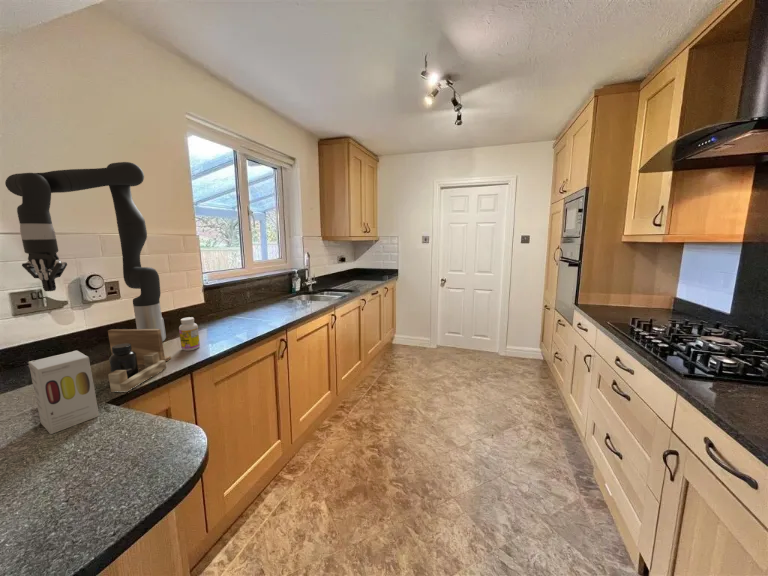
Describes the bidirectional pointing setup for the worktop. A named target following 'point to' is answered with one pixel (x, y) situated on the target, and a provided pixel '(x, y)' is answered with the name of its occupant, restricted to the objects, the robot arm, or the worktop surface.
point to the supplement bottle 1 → (124, 359)
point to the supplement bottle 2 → (189, 334)
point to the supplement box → (64, 390)
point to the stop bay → (124, 384)
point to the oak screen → (139, 342)
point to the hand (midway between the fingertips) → (50, 290)
